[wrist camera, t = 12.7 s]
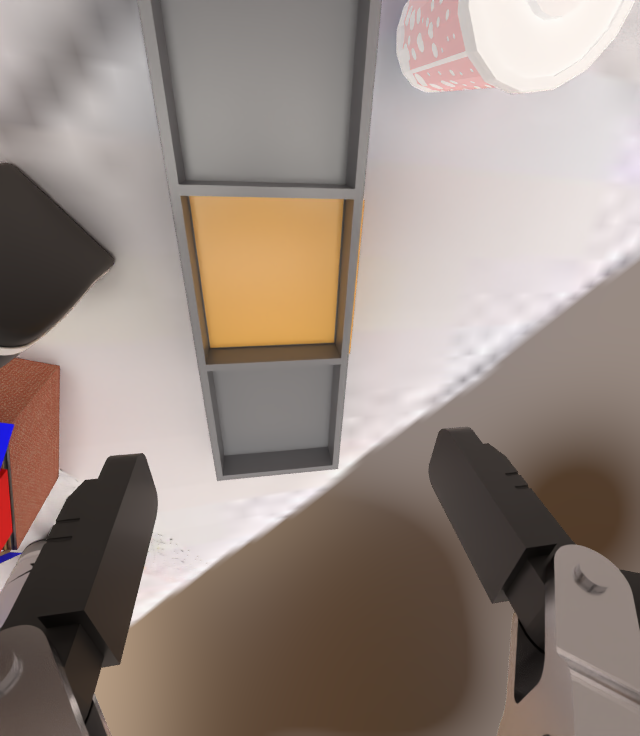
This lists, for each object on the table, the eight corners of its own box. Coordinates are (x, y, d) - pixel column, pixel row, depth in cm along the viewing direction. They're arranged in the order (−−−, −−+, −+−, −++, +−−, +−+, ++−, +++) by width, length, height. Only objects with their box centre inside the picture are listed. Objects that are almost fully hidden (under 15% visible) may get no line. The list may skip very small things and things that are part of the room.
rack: (134, -112, 15) (110, -163, 12) (375, -77, 16) (397, -116, 14) (219, 453, 32) (217, 480, 29) (333, 443, 33) (340, 468, 31)
